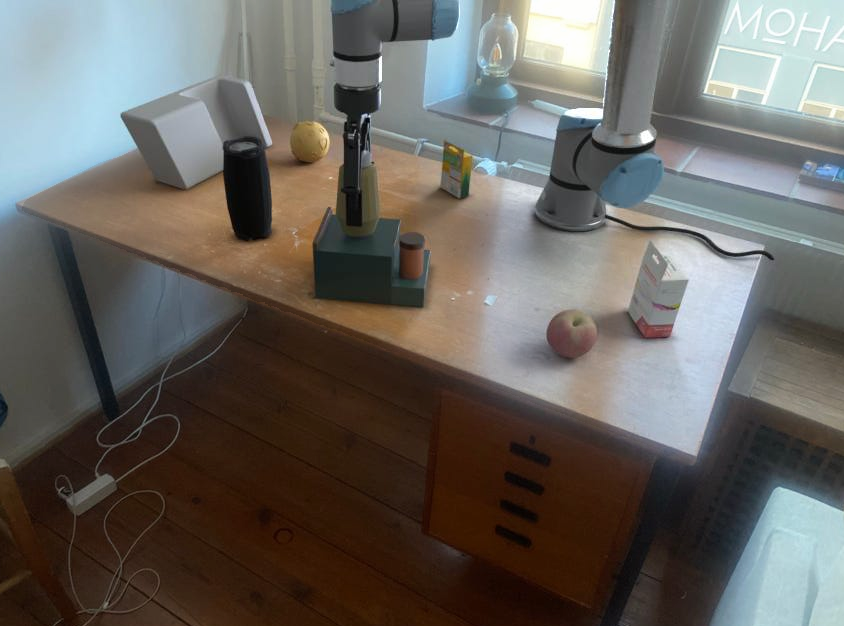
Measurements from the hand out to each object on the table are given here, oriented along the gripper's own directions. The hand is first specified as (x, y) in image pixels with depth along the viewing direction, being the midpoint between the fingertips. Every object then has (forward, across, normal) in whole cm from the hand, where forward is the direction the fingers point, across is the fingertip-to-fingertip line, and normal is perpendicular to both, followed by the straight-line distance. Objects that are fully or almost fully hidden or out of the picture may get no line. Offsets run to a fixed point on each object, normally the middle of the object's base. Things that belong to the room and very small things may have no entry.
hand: (358, 213), depth 127 cm
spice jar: (+10, +2, +10) cm, 14 cm away
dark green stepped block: (+14, 0, +3) cm, 14 cm away
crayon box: (+14, -42, +16) cm, 47 cm away
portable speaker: (+14, -15, -25) cm, 32 cm away
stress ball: (+14, -54, -21) cm, 60 cm away
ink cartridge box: (+14, +6, +53) cm, 55 cm away
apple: (+14, +17, +38) cm, 44 cm away
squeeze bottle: (+3, 0, 0) cm, 3 cm away
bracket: (+14, -46, -45) cm, 66 cm away
